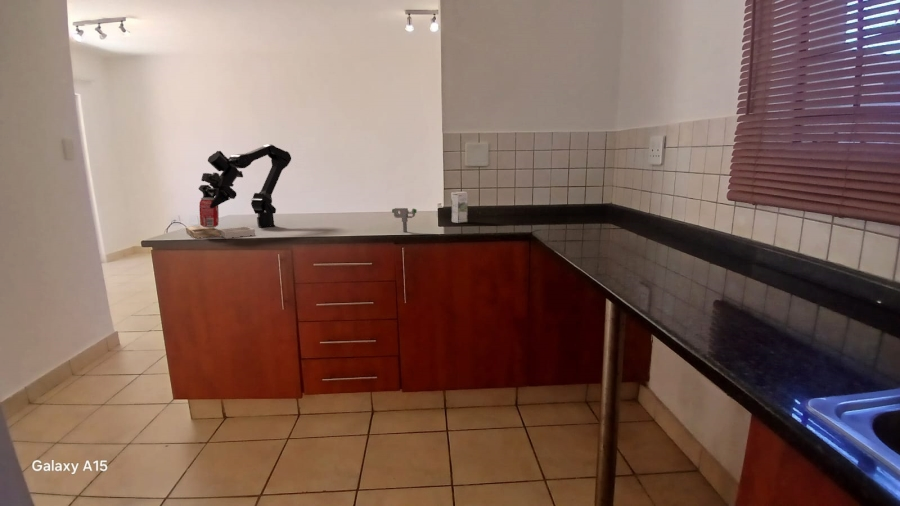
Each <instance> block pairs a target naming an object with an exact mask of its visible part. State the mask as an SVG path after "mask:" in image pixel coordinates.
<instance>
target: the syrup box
mask: <svg viewBox="0 0 900 506" xmlns="http://www.w3.org/2000/svg"><path fill="white" fill-rule="evenodd" d="M450 197H451V199H450V201H451V208H450V209H451V217H450V218H451V222H452V223H455V224H456V223H457V224H462V223H468V220H469V219H468V215H469V213H468V210H469V209H468V201H469V200H468V197H469V196H468V192H467V191H462V190H461V191H452V192H451V196H450Z"/></svg>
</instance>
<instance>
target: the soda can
mask: <svg viewBox="0 0 900 506" xmlns="http://www.w3.org/2000/svg"><path fill="white" fill-rule="evenodd" d="M214 198H215V197H214ZM214 198H210V197H204V198H203V197H200V201H199V223H200V225H199V226H203V227H206V228H213V227H215V228H217V227H218V226H219V222H220V221H219V218H220V217H219V215H220V213H219V205H218V206H216V207H214V208H210V205H211V203H212V201H213V200H214Z"/></svg>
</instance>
